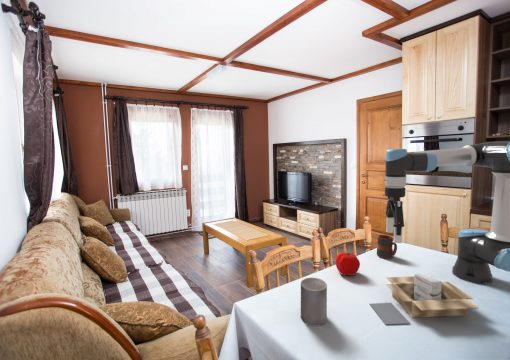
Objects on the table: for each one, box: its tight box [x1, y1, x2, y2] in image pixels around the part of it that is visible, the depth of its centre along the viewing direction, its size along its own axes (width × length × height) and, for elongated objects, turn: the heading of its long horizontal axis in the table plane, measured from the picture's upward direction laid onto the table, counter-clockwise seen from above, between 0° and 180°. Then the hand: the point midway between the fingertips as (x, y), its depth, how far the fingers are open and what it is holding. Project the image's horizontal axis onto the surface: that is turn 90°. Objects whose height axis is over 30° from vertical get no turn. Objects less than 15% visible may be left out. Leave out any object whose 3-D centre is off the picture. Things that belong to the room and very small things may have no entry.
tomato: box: [335, 251, 361, 276], centre depth 137 cm, size 12×12×11 cm
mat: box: [368, 302, 411, 326], centre depth 104 cm, size 9×13×1 cm
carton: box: [386, 275, 480, 318], centre depth 108 cm, size 27×25×6 cm
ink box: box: [413, 272, 443, 301], centre depth 108 cm, size 9×5×12 cm, turn 16°
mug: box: [376, 234, 398, 260], centre depth 156 cm, size 9×12×12 cm
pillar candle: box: [300, 277, 328, 327], centre depth 101 cm, size 10×10×15 cm
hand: (393, 237), depth 113 cm, fingers open, 13 cm apart
